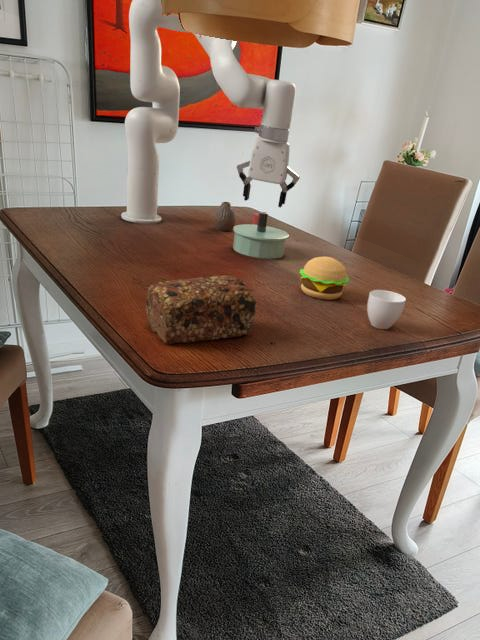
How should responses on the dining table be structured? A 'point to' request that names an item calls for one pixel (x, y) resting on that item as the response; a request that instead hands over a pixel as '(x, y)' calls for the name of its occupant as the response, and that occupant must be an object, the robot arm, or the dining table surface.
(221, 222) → the vase
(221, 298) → the bread
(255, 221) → the red cylinder
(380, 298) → the cup
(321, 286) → the hamburger
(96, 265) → the dining table surface
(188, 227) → the dining table surface
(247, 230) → the lid
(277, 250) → the pot
